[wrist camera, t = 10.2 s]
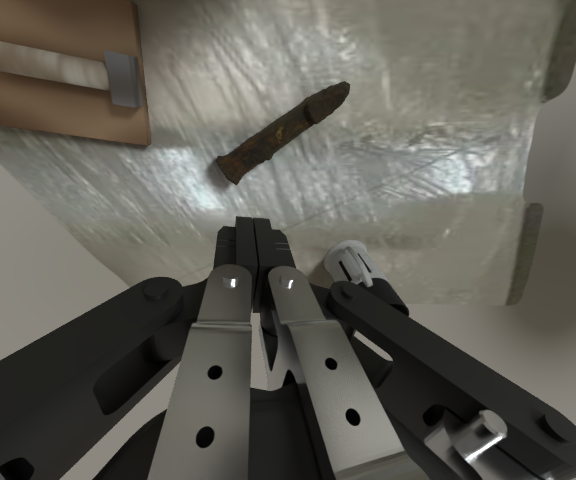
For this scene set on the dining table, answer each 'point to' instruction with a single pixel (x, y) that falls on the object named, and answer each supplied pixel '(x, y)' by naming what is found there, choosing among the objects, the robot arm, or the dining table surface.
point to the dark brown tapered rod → (282, 132)
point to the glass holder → (361, 272)
